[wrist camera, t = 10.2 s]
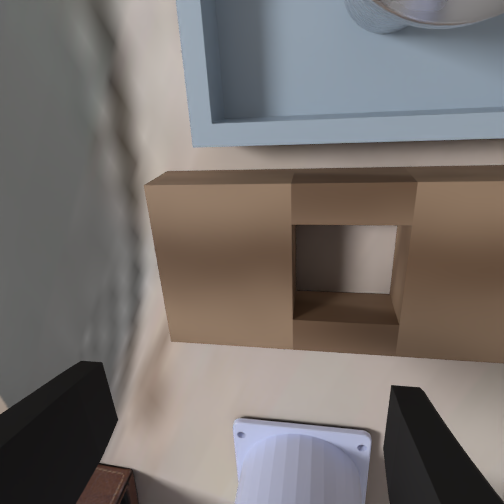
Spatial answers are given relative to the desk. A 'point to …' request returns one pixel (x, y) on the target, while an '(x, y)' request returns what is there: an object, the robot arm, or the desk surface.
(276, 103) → the tray
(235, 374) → the desk surface
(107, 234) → the desk surface
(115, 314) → the desk surface
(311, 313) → the brown flat block
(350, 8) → the steel pin
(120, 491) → the letter holder
